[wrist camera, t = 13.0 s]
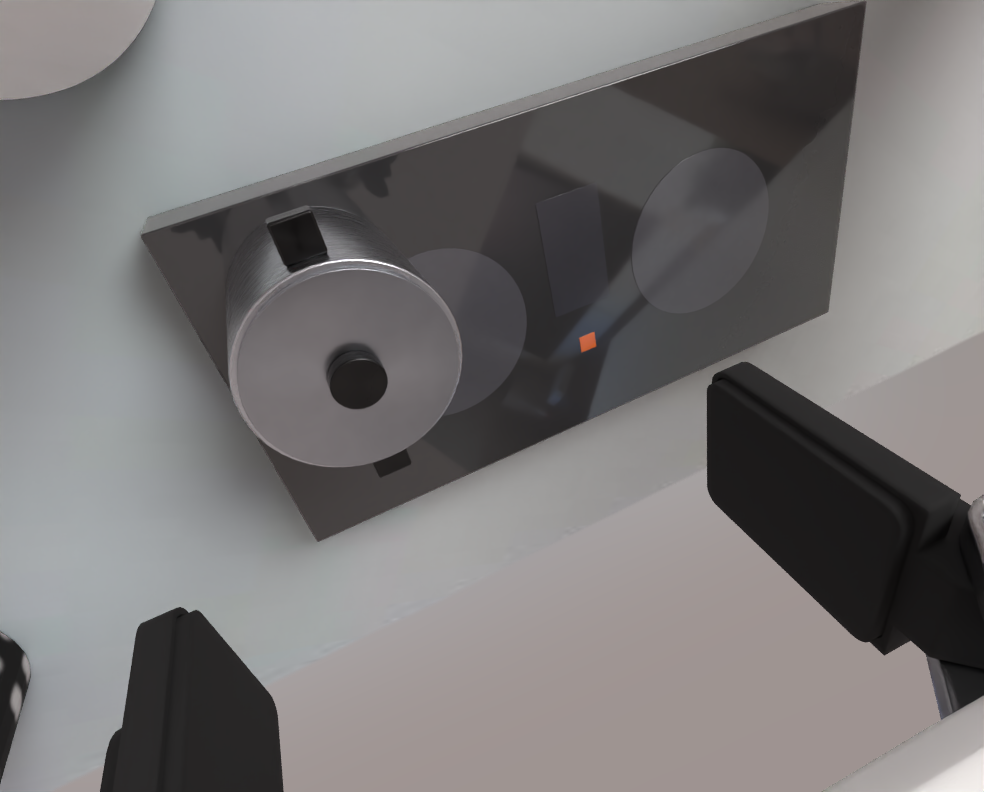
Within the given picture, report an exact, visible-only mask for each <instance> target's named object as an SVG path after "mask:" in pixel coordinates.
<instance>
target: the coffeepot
mask: <svg viewBox="0 0 984 792" xmlns="http://www.w3.org/2000/svg"><path fill="white" fill-rule="evenodd" d="M154 3H155V0H0V100H11V99H22V98H30V97H36V96H42V95H46V94H50V93H54V92H58V91H61V90H64V89H67V88H70V87H72V86H75V85H77V84H79V83H81V82H83V81H85V80H87V79H89V78H91V77H93V76H94V75H96V74H98V73H99V72H101V71H102V70H104V69H105V68H106V67H108V66H109V65H110V64H112V63H113V62H114V61H115V60H116V59H117V58H118V57H120V56H121V54H122V53H123V52H124V51H125V50H126V49H127V48H128V47H129V46H130V45H131V43H132V42H133V41H134V40H135V38H136V37H137V35H138V34H139V32H140V31H141V29H142V28H143V26H144V24H145V22H146V21H147V19H148V17H149V15H150V12H151V10H152V8H153V6H154Z"/></svg>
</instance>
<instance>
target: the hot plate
mask: <svg viewBox="0 0 984 792" xmlns="http://www.w3.org/2000/svg"><path fill="white" fill-rule="evenodd" d="M865 10H866V1H865V0H864V1H850V2H836V3H822V4H817V5H814V6H810V7H807V8H804V9H801V10H798V11H795V12H792V13H788V14H785V15H782V16H779V17H776V18H773V19H770V20H766V21H763V22H760V23H757V24H754V25H751V26H748V27H744V28H741V29H738V30H735V31H732V32H729V33H726V34H722V35H719V36H716V37H713V38H710V39H707V40H704V41H700V42H697V43H694V44H691V45H688V46H685V47H682V48H678V49H675V50H672V51H669V52H666V53H663V54H660V55H656V56H653V57H650V58H647V59H644V60H641V61H638V62H634V63H631V64H628V65H625V66H622V67H619V68H616V69H612V70H609V71H606V72H603V73H600V74H597V75H594V76H590V77H587V78H584V79H581V80H578V81H575V82H572V83H568V84H565V85H562V86H559V87H556V88H553V89H550V90H546V91H543V92H540V93H537V94H534V95H531V96H528V97H524V98H521V99H518V100H515V101H512V102H509V103H506V104H502V105H499V106H496V107H493V108H490V109H487V110H484V111H480V112H477V113H474V114H471V115H468V116H465V117H462V118H458V119H455V120H452V121H449V122H446V123H443V124H440V125H436V126H433V127H430V128H427V129H424V130H421V131H418V132H414V133H411V134H408V135H405V136H402V137H399V138H396V139H392V140H389V141H386V142H383V143H380V144H377V145H374V146H370V147H367V148H364V149H361V150H358V151H355V152H352V153H348V154H345V155H342V156H339V157H336V158H333V159H330V160H326V161H323V162H320V163H317V164H314V165H311V166H308V167H304V168H301V169H298V170H295V171H292V172H289V173H286V174H282V175H279V176H276V177H273V178H270V179H267V180H264V181H260V182H257V183H254V184H251V185H248V186H245V187H242V188H238V189H235V190H232V191H229V192H226V193H223V194H220V195H216V196H213V197H210V198H207V199H204V200H201V201H198V202H194V203H191V204H188V205H185V206H182V207H179V208H176V209H172V210H169V211H166V212H163V213H160V214H157V215H154V216H150V217H148V218H147V220H146V222H145V225H144V228H143V230H142V233H141V238H142V240H143V242H144V243H145V245H146V247H147V248H148V250H149V252H150V254H151V255H152V257H153V259H154V261H155V262H156V264H157V266H158V267H159V269H160V271H161V273H162V274H163V276H164V278H165V280H166V281H167V283H168V285H169V286H170V288H171V290H172V292H173V293H174V295H175V297H176V299H177V300H178V302H179V304H180V305H181V307H182V309H183V311H184V312H185V314H186V316H187V318H188V319H189V321H190V323H191V325H192V326H193V328H194V330H195V331H196V333H197V335H198V337H199V338H200V340H201V342H202V344H203V345H204V347H205V349H206V350H207V352H208V354H209V356H210V357H211V359H212V361H213V363H214V364H215V366H216V368H217V369H218V371H219V373H220V375H221V376H222V378H223V380H224V382H225V383H226V385H227V387H228V388H229V390H230V383H229V376H228V350H227V322H226V281H227V275H228V271H229V268H230V265H231V262H232V260H233V258H234V256H235V254H236V252H237V250H238V249H239V247H240V246H241V245H242V243H243V242H244V240H245V239H246V238H247V237H248V236H249V235H250V234H251V233H252V232H253V231H254V230H256V229H257V228H258V227H259V226H261V225H262V224H263V223H265V222H266V219H267V218H269V217H272V216H275V215H278V214H281V213H284V212H287V211H290V210H293V209H296V208H299V207H302V206H305V205H307V206H309V207H325V208H332V209H338V210H342V211H346V212H349V213H352V214H354V215H356V216H359V217H361V218H363V219H365V220H366V221H368V222H370V223H371V224H373V225H374V226H375V227H377V228H378V229H379V230H380V231H382V232H383V233H384V234H385V236H386V237H387V238H388V239H389V240H390V241H391V242H392V243H393V244H394V245H395V246H396V247H397V248H398V249H399V251H400V252H401V253H402V254H403V255H404V256H405V257H406V258H407V259H408V260H409V262H410V263H411V264H412V265H413V266H414V267H415V268H416V269H417V270H418V271H419V273H420V274H421V275H422V276H423V277H424V278H425V279H426V280H427V281H428V282H429V283H430V285H431V286H432V287H433V288H434V289H435V290H436V291H437V292H438V293H439V294H440V296H441V297H442V298H443V300H444V301H445V302H446V304H447V305H448V307H449V308H450V310H451V312H452V314H453V316H454V318H455V321H456V323H457V326H458V329H459V333H460V337H461V342H462V368H461V373H460V378H459V382H458V385H457V388H456V391H455V394H454V396H453V398H452V400H451V402H450V404H449V406H448V407H447V409H446V410H445V412H444V414H443V415H442V416H441V418H440V419H439V420H438V421H437V423H436V424H435V425H434V426H433V427H432V428H431V429H430V430H429V431H428V432H427V433H426V434H425V435H424V436H423V437H421V438H420V439H419V440H417V441H416V442H415V443H414V444H412V445H410V446H409V447H407V448H406V449H407V452H408V454H409V457H410V459H411V465H409V466H407V467H405V468H403V469H400V470H398V471H396V472H393V473H391V474H389V475H386V476H384V477H382V478H380V477H379V476H378V475H377V472H376V470H375V468H374V466H373V463H369V464H365V465H360V466H353V467H337V468H335V467H321V466H316V465H310V464H306V463H303V462H300V461H296V460H293V459H291V458H289V457H287V456H284V455H282V454H280V453H279V452H277V451H276V450H274V449H272V448H271V447H269V446H268V445H267V444H265V443H264V442H263V441H262V440H260V439H259V438H258V437H257V436H256V437H257V439H258V440H259V442H260V444H261V446H262V447H263V449H264V451H265V452H266V454H267V456H268V458H269V459H270V461H271V463H272V465H273V466H274V468H275V470H276V471H277V473H278V475H279V477H280V478H281V480H282V482H283V484H284V485H285V487H286V489H287V490H288V492H289V494H290V496H291V497H292V499H293V501H294V503H295V504H296V506H297V508H298V509H299V511H300V513H301V515H302V516H303V518H304V520H305V522H306V523H307V525H308V527H309V528H310V530H311V532H312V534H313V535H314V537H315V539H316V541H317V542H319V541H322V540H324V539H326V538H328V537H330V536H333V535H335V534H337V533H339V532H342V531H344V530H346V529H348V528H350V527H353V526H355V525H357V524H359V523H362V522H364V521H366V520H368V519H370V518H373V517H375V516H377V515H379V514H381V513H384V512H386V511H388V510H390V509H393V508H395V507H397V506H399V505H401V504H404V503H406V502H408V501H410V500H413V499H415V498H417V497H419V496H421V495H424V494H426V493H428V492H430V491H432V490H435V489H437V488H439V487H441V486H444V485H446V484H448V483H450V482H452V481H455V480H457V479H459V478H461V477H464V476H466V475H468V474H470V473H472V472H475V471H477V470H479V469H481V468H483V467H486V466H488V465H490V464H492V463H495V462H497V461H499V460H501V459H503V458H506V457H508V456H510V455H512V454H515V453H517V452H519V451H521V450H523V449H526V448H528V447H530V446H532V445H534V444H537V443H539V442H541V441H543V440H546V439H548V438H550V437H552V436H554V435H557V434H559V433H561V432H563V431H566V430H568V429H570V428H572V427H574V426H577V425H579V424H581V423H583V422H585V421H588V420H590V419H592V418H594V417H597V416H599V415H601V414H603V413H605V412H608V411H610V410H612V409H614V408H617V407H619V406H621V405H623V404H625V403H628V402H630V401H632V400H634V399H637V398H639V397H641V396H643V395H645V394H648V393H650V392H652V391H654V390H656V389H659V388H661V387H663V386H665V385H668V384H670V383H672V382H674V381H676V380H679V379H681V378H683V377H685V376H688V375H690V374H692V373H694V372H696V371H699V370H701V369H703V368H705V367H707V366H710V365H712V364H714V363H716V362H719V361H721V360H723V359H725V358H727V357H730V356H732V355H734V354H736V353H739V352H741V351H743V350H745V349H747V348H750V347H752V346H754V345H756V344H758V343H761V342H763V341H765V340H767V339H770V338H772V337H774V336H776V335H778V334H781V333H783V332H785V331H787V330H790V329H792V328H794V327H796V326H798V325H801V324H803V323H805V322H807V321H809V320H812V319H814V318H816V317H818V316H821V315H823V314H825V313H827V312H828V310H829V302H830V294H831V286H832V278H833V270H834V262H835V253H836V245H837V237H838V229H839V221H840V213H841V205H842V197H843V189H844V180H845V172H846V164H847V156H848V148H849V140H850V132H851V124H852V116H853V107H854V99H855V91H856V83H857V75H858V67H859V59H860V51H861V43H862V34H863V26H864V18H865ZM230 392H231V390H230ZM231 394H232V393H231Z"/></svg>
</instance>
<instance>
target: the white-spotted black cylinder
mask: <svg viewBox="0 0 984 792" xmlns="http://www.w3.org/2000/svg"><path fill="white" fill-rule="evenodd" d="M30 677H31V674H30V664H29V662H28V659H27V657H26V655H25V653H24V651H23V650H22V649H21V648H20V647H19V646H18V645H17V644H16V643H15V641H13V640H12V639H10V638H9V637H7V636H6V635H4V634H3V633H1V632H0V783H1V779H2V776H3V772H4V769H5V765H6V762H7V758H8V755H9V751H10V748H11V744H12V741H13V737H14V734H15V730H16V727H17V723H18V720H19V716H20V713H21V709H22V706H23V702H24V699H25V695H26V692H27V689H28V685H29V681H30Z"/></svg>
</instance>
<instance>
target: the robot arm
mask: <svg viewBox="0 0 984 792" xmlns="http://www.w3.org/2000/svg"><path fill="white" fill-rule="evenodd" d="M707 487H708V492H709V494H710V496H711V498H712V500H713V501H714V503H715V504H716V505H717V506H718V507H719V508H720V509H721V510H722V511H723V512H724V513H725V514H726V515H727V516H728V517H729V518H730V519H731V520H733V521H734V522H735V523H736V524H737V525H738V526H739V527H740V528H741V529H742V530H743V531H744V532H745V533H746V534H747V535H748V536H749V537H750V538H751V539H752V540H753V541H754V542H756V543H757V544H758V545H759V546H760V547H761V548H762V549H763V550H764V551H765V552H766V553H767V554H768V555H769V556H770V557H771V558H772V559H773V560H774V561H775V562H777V564H778V565H780V566H781V567H782V568H783V569H784V570H785V571H786V572H787V573H788V574H789V575H790V576H791V577H792V578H793V579H794V580H795V581H796V582H797V583H798V584H799V585H800V586H801V587H803V588H804V589H805V590H806V591H807V592H808V593H809V594H810V595H811V596H812V597H813V598H814V599H815V600H816V601H817V602H818V603H819V604H820V605H821V606H822V607H823V608H824V609H826V611H828V612H829V613H830V614H831V615H832V616H833V617H834V618H835V619H836V620H837V621H838V622H839V623H840V624H841V625H842V626H843V627H844V628H846V630H848V632H850V634H852V635H853V636H854V637H855V638H857V639H858V640H860V641H862V642H870V643H872V644H873V645H874V646H875V647H876V648H877V649H878V650H879V651H880V652H881V653H882V654H883V655H886V654H888V653H889V652H891V651H893V650H895V649H896V648H898V647H900V646H902V645H903V644H905V643H907V642H909V641H910V640H911V641H912V642H913V643H914V644H915V645H916V646H918V647H919V648H920V649H921V650H922V651H923V652H924V653H925V654H926V657H927V661H928V665H929V670H930V674H931V678H932V683H933V687H934V691H935V696H936V700H937V704H938V708H939V713H940V717H941V720H940V721H939V722H937V723H935V724H933V725H932V726H930V727H928V728H926V729H925V730H923V731H922V732H920V733H918V734H916V735H915V736H914V737H911V738H910V739H908V740H907V741H905V742H903V743H901V744H900V745H898V746H896V747H895V748H893V749H892V750H890V751H888V752H887V753H885V754H883V755H882V756H880V757H878V758H877V759H875V760H873V761H872V762H870V763H868V764H867V765H865V766H863V767H862V768H860V769H859V770H857V771H855V772H853V773H852V774H850V775H849V776H847V777H845V778H843V779H842V780H840V781H838V782H837V783H835V784H833V785H832V786H830V787H828V788H827V789H825V790H823V791H822V792H984V495H982V496H981V497H979V498H978V499H976V500H975V501H973V503H972V505H969V504H968V503H966V502H964V501H963V500H961V499H960V496H961V495H960V494H959V493H957V492H956V491H954V490H952V489H951V488H949V487H948V486H946V485H944V484H943V483H941V482H940V481H938V480H936V479H935V478H933V477H931V476H930V475H928V474H927V473H925V472H924V471H922V470H920V469H919V468H917V467H915V466H914V465H912V464H911V463H909V462H908V461H906V460H904V459H903V458H901V457H900V456H898V455H896V454H895V453H893V452H891V451H890V450H888V449H887V448H885V447H883V446H882V445H880V444H879V443H877V442H875V441H874V440H872V439H871V438H869V437H867V436H866V435H864V434H863V433H861V432H859V431H858V430H856V429H855V428H853V427H852V426H850V425H848V424H847V423H845V422H844V421H842V420H840V419H839V418H837V417H835V416H834V415H832V414H831V413H829V412H828V411H826V410H824V409H823V408H821V407H820V406H818V405H816V404H815V403H813V402H812V401H810V400H808V399H807V398H805V397H804V396H802V395H800V394H799V393H797V392H796V391H794V390H792V389H791V388H789V387H788V386H786V385H784V384H783V383H781V382H780V381H778V380H776V379H775V378H773V377H772V376H770V375H768V374H767V373H765V372H764V371H762V370H760V369H759V368H757V367H756V366H754V365H752V364H750V363H748V362H741V363H739V364H736V365H734V366H732V367H730V368H727V369H725V370H723V371H720V372H718V373H716V374H715V375H714V376H713V379H712V384H710V385H709V386H708V388H707ZM100 792H283V779H282V766H281V752H280V739H279V726H278V715H277V710H276V706H275V703H274V701H273V699H272V697H271V695H270V694H269V693H268V691H267V690H266V689H265V688H264V687H263V685H262V684H261V683H260V682H259V681H258V679H257V678H256V677H255V676H254V675H253V674H252V672H251V671H250V670H249V669H248V668H247V666H246V665H245V664H244V663H243V662H242V661H241V659H240V658H239V657H238V656H237V655H236V653H235V652H234V651H233V650H232V649H231V647H230V646H229V645H228V644H227V643H226V642H225V640H224V639H223V638H222V637H221V636H220V634H219V633H218V632H217V631H216V630H215V629H214V627H213V626H212V625H211V624H210V623H209V621H208V620H207V619H206V618H205V617H204V616H203V614H202V613H201V612H200V611H197V610H195V611H192V612H190V613H188V612H187V611H186V610H185V609H184V608H181V607H179V608H176V609H173V610H171V611H169V612H166V613H164V614H162V615H160V616H157V617H155V618H153V619H150V620H148V621H146V622H143V623H141V624H140V626H139V627H138V629H137V633H136V638H135V645H134V652H133V658H132V665H131V672H130V678H129V685H128V692H127V698H126V705H125V712H124V718H123V725H122V728H121V729H119V730H118V731H116V732H115V734H114V735H113V737H112V738H111V740H110V742H109V746H108V749H107V753H106V759H105V765H104V771H103V777H102V783H101V789H100Z"/></svg>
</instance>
